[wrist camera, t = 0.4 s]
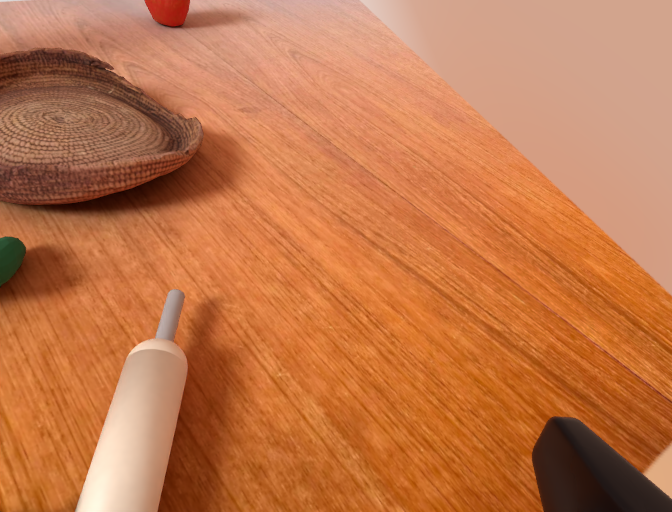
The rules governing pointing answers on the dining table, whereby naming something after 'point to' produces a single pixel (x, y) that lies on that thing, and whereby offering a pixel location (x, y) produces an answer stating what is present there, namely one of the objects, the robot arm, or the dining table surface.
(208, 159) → the dining table surface
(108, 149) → the basket
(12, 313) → the dining table surface
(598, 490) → the robot arm
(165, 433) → the soldering pen
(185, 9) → the apple
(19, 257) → the gaming controller
